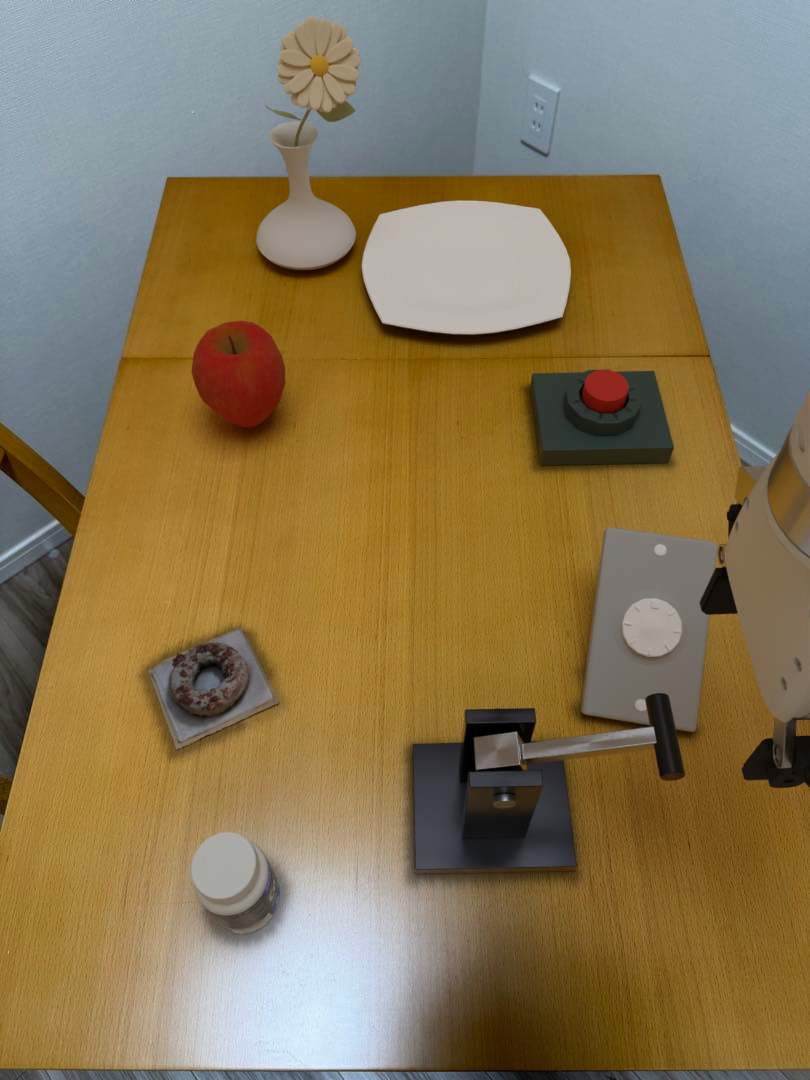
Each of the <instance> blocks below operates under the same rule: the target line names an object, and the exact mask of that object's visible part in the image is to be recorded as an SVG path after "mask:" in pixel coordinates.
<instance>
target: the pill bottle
mask: <svg viewBox="0 0 810 1080" xmlns="http://www.w3.org/2000/svg"><path fill="white" fill-rule="evenodd" d="M190 874H191V880H192V885H193V891H194V894H195V895H196V898H197V900H198V902H199V903H200V904H201V906H203V908H204V909H205V910H206V911H207V912H208V913H209V914H210V915H211V917H212V918H213V919H214V920H215V921H216V922H217V923H218V924H219V925H220V926H221V927H222V928H224V929H225V930H227V931H229V932H231V933H233V934H240V935H242V934H243V935H244V934H249V933H253V932H256V931H258V930H260V929H261V928H263V927H264V926H266V925H268V923H269V922H271V920H272V918H273V917H274V915H275V914H276V912H277V910H278V907H279V904H280V900H281V888H280V883H279V880H278V877H277V875H276V873H275V871H274V869H273V867H272V865H271V864H270V862H269V860H268V858H267V856H266V854H265V852H264V850H263V849H262V848H260V846H259V845H258V844H256V843H255V842H254V841H252V840H250V839H248V838H247V837H245V836H243V834H240V833H238V832H233V831H223V832H218V833H215V834H213V835H211V836H210V837H208V838H206V839H205V840H203V842H202V843H201V844H200V845H199V846H198V848H197V849H196V851H195V852H194V854H193V857H192V860H191V864H190Z"/></svg>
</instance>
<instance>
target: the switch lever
mask: <svg viewBox="0 0 810 1080" xmlns="http://www.w3.org/2000/svg"><path fill="white" fill-rule="evenodd" d="M645 702H646V707H647V713H648V718H649V723H650V725H649V726H644V727H635V728H629V729H628V728H627V729H621V730H614V731H606V732H599V733H591V734H584V735H575V736H567V737H561V738H560V737H559V738H553V739H544V740H536V741H537V742H529V743H523V741H522V739H521V737H520V735H519V734H518V732H517V731H514V732H507V733H499V734H492V735H485V736H477V737H474V749H475V765H476V771H519V770H527V765H530V764H538V763H546V762H554V761H562V760H564V761H569V760H578V759H585V758H594V757H601V756H610V755H616V754H625V753H633V752H640V751H641V752H642V751H649V750H654V755H655V759H656V765H657V770H658V775H659V779H660V780H662V781H665V782H666V781H667V782H673V781H679V780H681V779H684V778H685V776H686V772H685V767H684V762H683V757H682V753H681V747H680V743H679V737H678V733H677V730H676V728H675V723H674V718H673V713H672V708H671V703H670V699H669V696H668V695H667V694H665V693H655V694H651V695H649V696H647V697H646V698H645Z"/></svg>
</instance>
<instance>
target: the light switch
mask: <svg viewBox="0 0 810 1080" xmlns="http://www.w3.org/2000/svg"><path fill="white" fill-rule="evenodd" d="M718 547H719V545H718V543H717V542H716V541H713V540H708V539H707V540H706V539H698V538H693V537H692V538H691V537H685V536H677V535H671V534H670V535H668V534H662V533H656V532H648V531H640V530H632V529H626V528H618V527H611V526H609V527H606V528H605V529H604V530H603V536H602V544H601V550H600V558H599V566H598V573H597V575H598V576H597V582H596V588H595V595H594V597H595V598H594V604H593V612H592V620H591V628H590V635H589V641H588V651H587V658H586V666H585V673H584V681H583V687H582V688H583V689H582V695H581V704H580V712H581V713H582V714H583V715H584V716H590V717H597V718H603V719H609V720H616V721H621V722H627V723H633V724H640V725H646V726H650V723H649V718H648V713H647V707H646V702H645V698H646V697H647V696H649V695H651V694H655V693H665V694H667V695H668V696H669V699H670V703H671V708H672V713H673V718H674V723H675V728H676V731H677V730H678V731H683V732H690V733H693V732H696V731H697V726H698V718H699V709H700V701H701V691H702V684H703V676H704V665H705V659H706V648H707V642H708V641H707V640H708V634H709V633H708V632H709V624H710V616H711V615H706V614H705V613H704V612H702V611H701V607H700V600H701V598H702V596H703V594H704V592H705V589H706V587H707V585H708V583H709V581H710V579H711V577H712V574H713V572H714V570H715V568H716V564H717V557H718Z"/></svg>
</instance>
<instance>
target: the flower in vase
mask: <svg viewBox="0 0 810 1080" xmlns="http://www.w3.org/2000/svg"><path fill="white" fill-rule="evenodd" d="M347 35H348V30H347V28H346V27H345V26H342V25H341V24H340V23H339V22H333V21H331V20H329V19H328V18H323V19H320V18H317V17H314V16H308V17H307V18H306V20H305V21H302V22H300V23H299V24H296V26H295V27H294V30H290V31H288V32H287V34H286V35H283V36H282V38H281V44H280V45H279V50H280V53H279V57H278V58H277V64H278V67H277V68H276V69H277V73H278V74H277V82H279V83H280V84H281V85H283V91H284V92H285V93H286V94H288V95H291V96H290V102H291V103H292V104H293V105H295V106H298V107H300V108H302V109H304V108H305V109H306V111H305V113H304V115H303V117H302V119H300V118H298V117H297V116H296V115H294V114H293V113H290V112H287V111H283V110H277V109H272V108H271V107H269V106H268V105H266V104H264V106H265V108H267V109H268V110H269V111H271V112H273V113H274V114H276V115H278V116H281V117H284V118H288V119H292V120H295V121H287V122H283V123H280V124H278V125H276V126H274V127H273V128H272V129H271V130H270V131H269V134H268V139H269V141H270V143H272V145H273V146H275V148H276V149H277V150H278V151H279V153H280V155H281V157H282V160H283V162H284V164H285V165H284V166H285V168H286V172H287V178H288V186H289V195H288V198H287V199H286V200H285V201H284V202H282V203H280V204H279V205H278V206H276V207H275V208H274V209H272V210H271V211H270V212H269V213H268V214H267V215H266V216H265V217H264V218H263V219H262V221H261V222H260V224H259V225H258V229H257V232H256V236H255V237H256V238H255V241H256V246H257V249H258V251H259V252H260V253H261V254H262V255H263V256H264V257H265V258H266V259H267V260H268V261H270V262H271V263H272V264H274V265H276V266H278V267H281V268H284V269H288V270H294V271H311V270H318V269H322V268H326V267H328V266H331V265H334V264H335V263H337V262H339V261H340V260H342V259H343V258H344V257H345V256H347V254H348V253H349V252H350V250H351V249H352V248H353V246H354V244H355V241H356V238H357V232H356V231H357V230H356V227H355V226H354V223H353V221H352V220H351V218H350V217H349V215H348V214H347V213H346V212H345V211H343V210H342V209H340V208H339V207H337V206H336V205H334V204H333V203H330V202H328V201H325V200H323V199H320V198H319V197H316V196H315V195H314V193H313V191H312V187H311V181H310V156H311V155H310V154H311V151H312V147H313V145H314V143H315V142H316V140H317V138H318V135H319V131H318V129H317V128H316V127H315V126H314V125H312V124H311V123H308V122H306V121H307V119H308V117H309V115H310V113H311V111H312V110H313V111H316V113H317V114H318V115H319V116H320V117H321V118H322V119H323V120H325V121H326V122H329V123H335V122H338V121H342V120H344V119H346V118H348V117H349V116H351V115H353V114H354V113H355V112H356V109H355V108H354V107H353V106H352V104H351V103H349V102H348V101H347V99H348V98H349V97H350V96H352V95H353V96H354V94H355V93H356V89H357V88H356V86H357V80H359V78H360V72H359V71H360V70H359V66H360V65H361V58H360V53H361V52H360V51H359V49H357V48H355V47H354V40H353V39H352V38H351V37H350V36H347Z"/></svg>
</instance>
